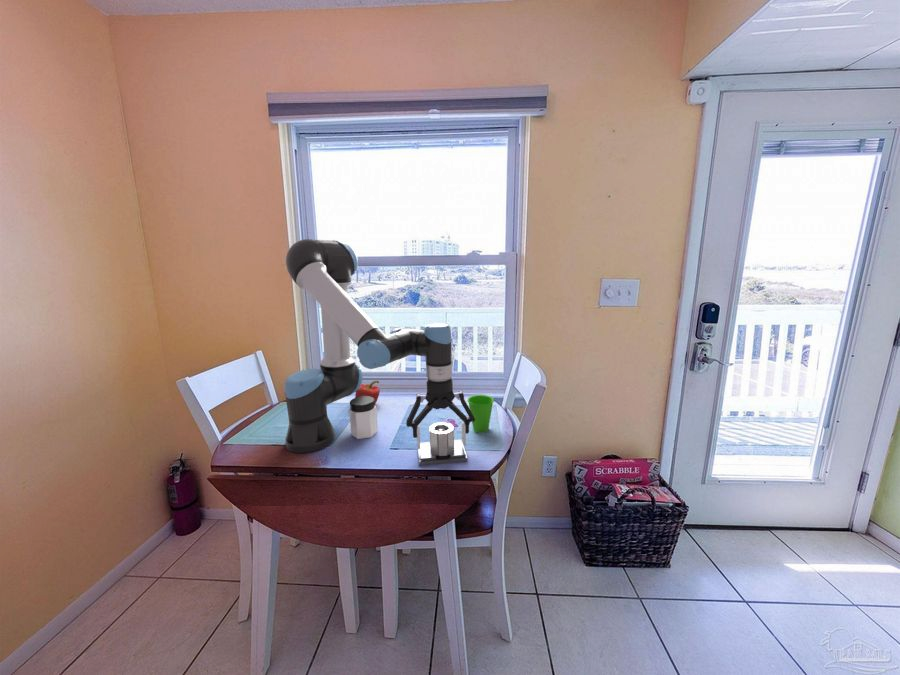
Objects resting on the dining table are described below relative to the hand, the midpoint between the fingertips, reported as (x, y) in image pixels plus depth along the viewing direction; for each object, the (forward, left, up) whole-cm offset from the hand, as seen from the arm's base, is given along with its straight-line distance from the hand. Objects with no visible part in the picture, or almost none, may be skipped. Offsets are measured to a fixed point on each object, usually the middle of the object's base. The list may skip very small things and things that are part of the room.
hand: (441, 444), depth 104 cm
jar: (-25, +18, -3) cm, 31 cm away
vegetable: (-26, +42, -4) cm, 50 cm away
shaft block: (0, 0, -3) cm, 3 cm away
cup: (+15, +14, -3) cm, 21 cm away
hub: (0, -1, -1) cm, 1 cm away
